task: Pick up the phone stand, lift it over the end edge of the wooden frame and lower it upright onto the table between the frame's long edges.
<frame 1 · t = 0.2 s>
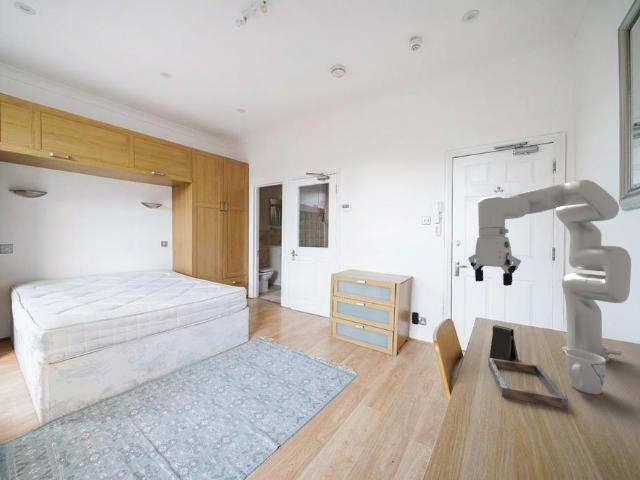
hand: (492, 283, 86), 30 cm above the table, tool pointing down, fingers open, 9 cm apart
wooden frame: (522, 383, 79), on the table
phone stand: (503, 359, 96), on the table
mug: (583, 390, 75), on the table
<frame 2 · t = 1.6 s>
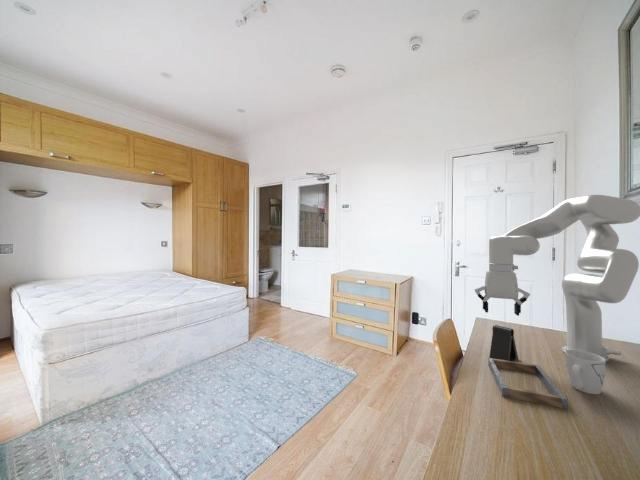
hand: (501, 313, 96), 17 cm above the table, tool pointing down, fingers open, 9 cm apart
nothing on the table moved.
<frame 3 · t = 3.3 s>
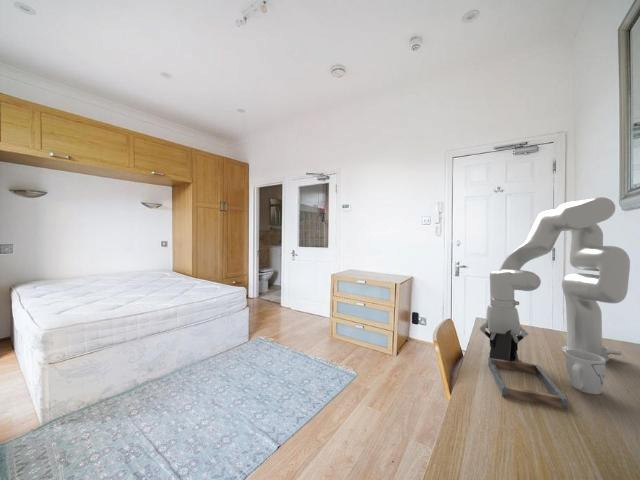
hand: (503, 350, 96), 3 cm above the table, tool pointing down, fingers closed on phone stand, 5 cm apart
phone stand: (503, 359, 96), on the table, touching gripper
everything else where it was.
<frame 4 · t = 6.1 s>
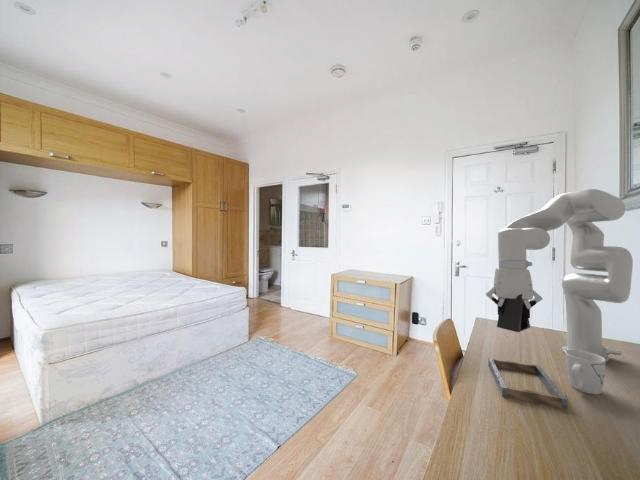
hand: (513, 318, 85), 19 cm above the table, tool pointing down, fingers closed on phone stand, 5 cm apart
phone stand: (513, 328, 85), point 16 cm above the table, touching gripper
everything else where it was.
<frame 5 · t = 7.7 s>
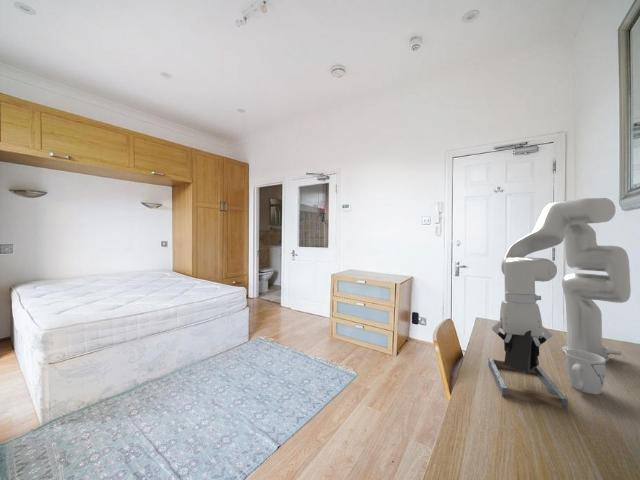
hand: (521, 355, 79), 9 cm above the table, tool pointing down, fingers closed on phone stand, 5 cm apart
phone stand: (521, 365, 79), point 6 cm above the table, touching gripper
everything else where it was.
when the fingers open (4 cm above the table, at t = 9.0 s): phone stand drops 1 cm, resting in wooden frame.
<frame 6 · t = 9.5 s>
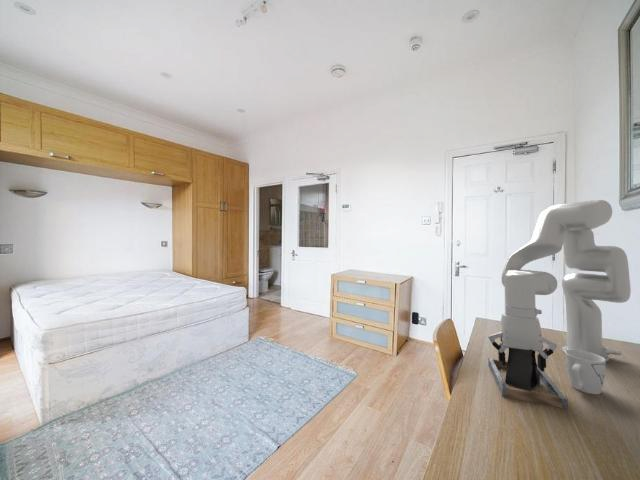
hand: (521, 366, 79), 5 cm above the table, tool pointing down, fingers open, 9 cm apart
phone stand: (522, 384, 79), resting in wooden frame
everything else where it was.
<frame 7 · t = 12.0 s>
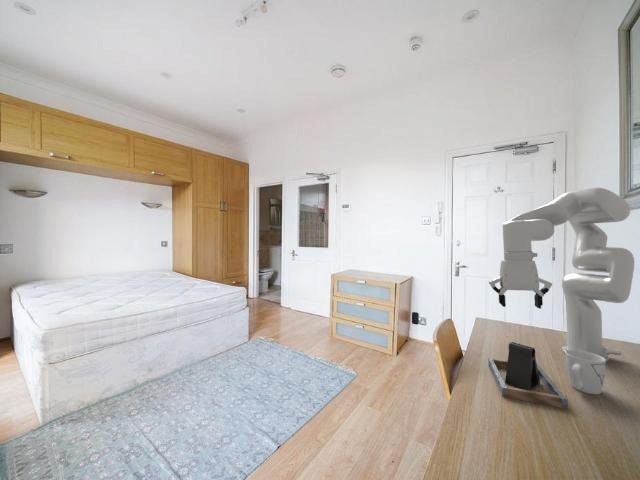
hand: (520, 306, 86), 22 cm above the table, tool pointing down, fingers open, 9 cm apart
nothing on the table moved.
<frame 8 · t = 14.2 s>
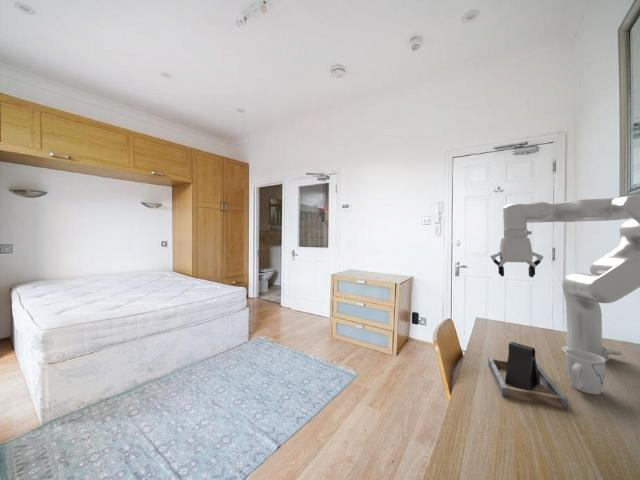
hand: (516, 276, 103), 30 cm above the table, tool pointing down, fingers open, 9 cm apart
nothing on the table moved.
at the end: phone stand inside the target area on the wooden frame (0.3 cm from its centre), point 0.0 cm above the wooden frame's base; phone stand touching table; phone stand tilted 0° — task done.
